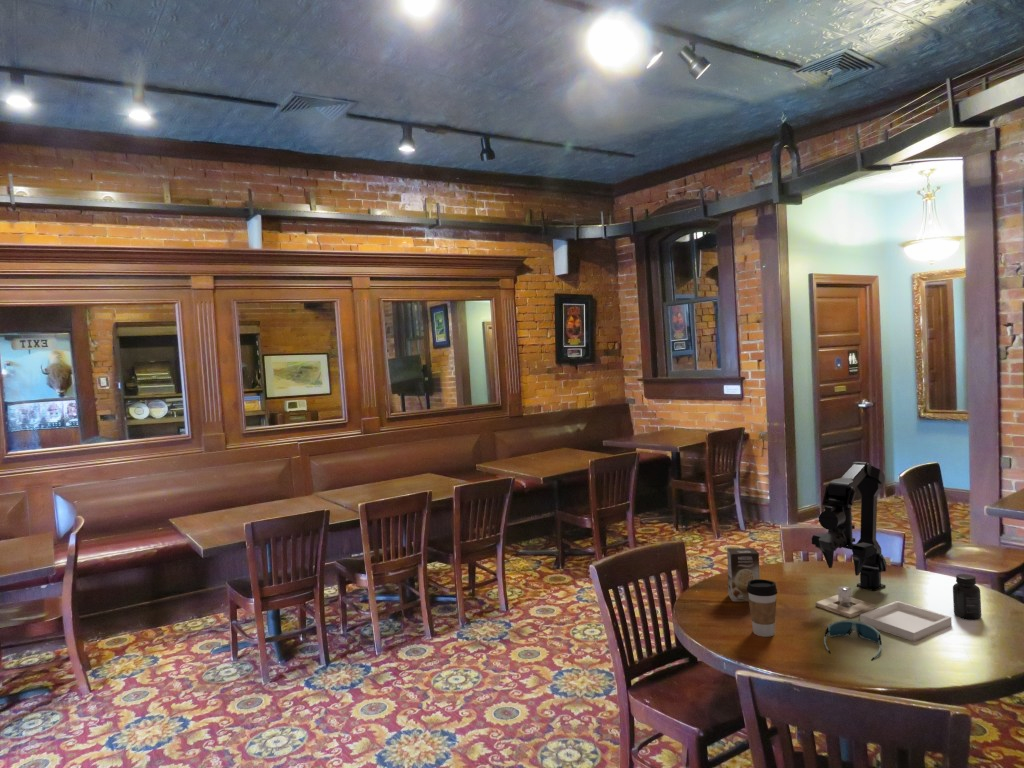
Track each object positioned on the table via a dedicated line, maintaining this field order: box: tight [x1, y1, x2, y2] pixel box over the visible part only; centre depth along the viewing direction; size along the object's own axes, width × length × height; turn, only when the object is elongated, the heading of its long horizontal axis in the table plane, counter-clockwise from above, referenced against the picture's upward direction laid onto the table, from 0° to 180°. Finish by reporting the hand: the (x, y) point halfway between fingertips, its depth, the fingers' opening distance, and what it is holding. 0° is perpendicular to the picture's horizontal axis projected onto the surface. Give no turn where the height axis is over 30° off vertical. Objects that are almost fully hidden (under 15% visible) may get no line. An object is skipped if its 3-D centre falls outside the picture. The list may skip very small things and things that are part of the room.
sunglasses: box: [823, 619, 883, 661], centre depth 188 cm, size 14×15×5 cm
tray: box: [859, 600, 953, 642], centre depth 199 cm, size 18×16×2 cm
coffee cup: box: [747, 578, 778, 638], centre depth 199 cm, size 8×8×15 cm
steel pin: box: [837, 586, 852, 608], centre depth 214 cm, size 4×4×6 cm
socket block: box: [815, 594, 876, 619], centre depth 214 cm, size 12×12×1 cm
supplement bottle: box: [952, 573, 982, 621], centre depth 202 cm, size 7×7×12 cm
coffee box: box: [726, 547, 761, 602], centre depth 226 cm, size 9×6×16 cm
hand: (843, 571), depth 213 cm, fingers open, 9 cm apart
